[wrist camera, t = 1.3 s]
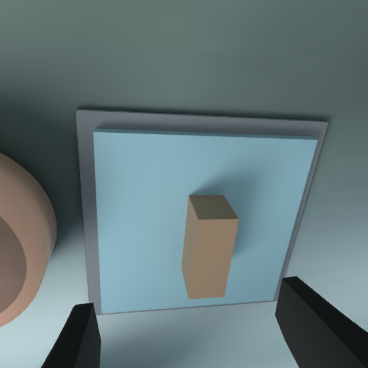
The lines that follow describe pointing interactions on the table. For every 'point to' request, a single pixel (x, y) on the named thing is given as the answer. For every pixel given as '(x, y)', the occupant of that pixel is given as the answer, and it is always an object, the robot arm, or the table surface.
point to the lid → (194, 215)
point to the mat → (177, 123)
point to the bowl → (22, 238)
